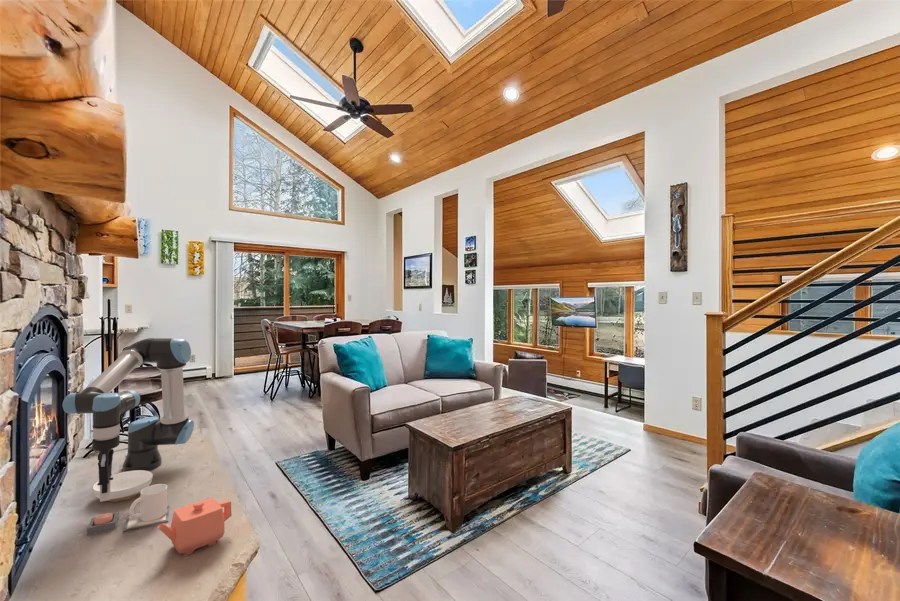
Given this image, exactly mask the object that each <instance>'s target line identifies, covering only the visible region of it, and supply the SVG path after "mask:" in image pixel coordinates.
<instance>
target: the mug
mask: <svg viewBox="0 0 900 601" xmlns="http://www.w3.org/2000/svg"><path fill="white" fill-rule="evenodd" d="M139 494H140V496H139V497H138V498H136V499H134V501H132V503H131V505H130V507H129V510H128V515H130V516H131V517H132V518H139V517H140V519H141V520H142V521H152V520H156V519H158V518H160V517H162V516H163V515H164V514H165V513H166V510H167V506H168V484H165V483H157V484H150V485H149V486H148V487H146V488H144V489H142V490H141V492H140V493H139ZM138 504H139V512H140V513H139V512H138V513H139V514H135V513H136V512H135V506H137V505H138Z"/></svg>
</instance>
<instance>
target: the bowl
mask: <svg viewBox="0 0 900 601" xmlns="http://www.w3.org/2000/svg"><path fill="white" fill-rule="evenodd" d="M112 477H113V480H109V481H111V484H110V500H107V502H113V503H114V502H115V503H116V502H122V501H126V500H129V499H132V498H134V497H136V496H138V495H139V494H140V492H141V490H142V489H144V488H146V487H148V486H151V483H152V481H153V477H154V473H153V472H152V471H150V470H148V471H145V470H135V471H127V472H123V471H121V472H117V473H113V474H112V475H111V478H112ZM98 483H99V480H97V482H95V483H94V484H93V486H92V492H93V494H94V496H95V498H96V499H99V500H100V485H97V484H98Z"/></svg>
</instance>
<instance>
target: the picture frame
mask: <svg viewBox="0 0 900 601" xmlns="http://www.w3.org/2000/svg"><path fill="white" fill-rule="evenodd" d="M134 513H135V514H139V513H140V511H139V512H134ZM169 514H170V505H167V510H166V513H165V514H164V515H163V516H162V517H160V518H158V519H156V520H152V521H142V520H141V519H140V517H139V518H132V517H131V516H130V514H127V517H126V520H125V523H124V529H123V531H122V532H123V534H124V533H129V532H133V531H136V530H140V529H145V528H149V527H154V526H159V525H161V524H163V523H164V524H167V523H169Z"/></svg>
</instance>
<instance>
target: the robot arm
mask: <svg viewBox="0 0 900 601" xmlns="http://www.w3.org/2000/svg"><path fill="white" fill-rule="evenodd" d="M191 355H192V348H191V346H190V343H189V341H187V340H186V339H183V338H176V337H174V338H173V337H172V338H171V337H170V338H169V337H168V338H164V337H163V338H161V337H158V338H155V337H152V338H151V337H148V338H145V339H141V340H139V341H136V342H134V343H132V344H130V345H129V346H126V348H124V349H123V350H121V352H119V354H118V356H117V359H116V360H115V361H113V362H112V363H111V364H110V365H109V366H108V367H107V368H106V369H104V371H102V372H101V373H100V374H99V375H98V376H97V377H96V378H95V379H94V380H93V381H92V382H91V383H90V384H88V386H87V387H85V388H84V389H83V390H82V391H81V392H79V393H78V392H75V393H70V394H68V395H66V396H65V397H64V399H63V402H62V409H63V411H64V412H65V413H66V414H75V415H76V414H77V415H78V414H80V415H81V414H92V429H90V430H89V431H90V433H92V440H91V449H92V450H93V451H96V452H97V451H98V452H99V453H98V455H97V460H98V462H97V465H98V481H99V483H98V484H97V485H100V499H99V503H100V502H106V501H107V500H110V484H111V481H109V480H113V477H112V478H111V475H113V474H112V470H113V458H114V457H113V456H114V448H117V447H118V446H119V445H120V433H121V415H123V414H125V413H127V412H129V411H131V410H133V409H134V408H135V407H137V406H138V405H139V404H140V402H141V396H140V394H139V393H138V391H136V390H133V389H128V390H123V391H122V392H112V391H113V390H114V389H115V388H117V387H118V385H120V383H122V382H123V380H124V379H126V377H127V376H128V375H129V374H131V372H132V371H133V370H134V369H137V368H139V367H141V366H142V365H144V364H147V363H148V364H151V363H154V364H155V363H156V369H158V370H159V371H160V378H161V393H162V395H161V396H162V414H163V416H162V417H161V418H159V417H158V416H148V417H143V418H140V419H137V420H136V419H135V420H134V421H132V422H131V423H129V425H128V428H127V429H128V430H127V454H126V456H125V459H124V461H123V464H122V471H121V472H127V471H135V470H145V471H151V470H153V469H156V468H157V467H159V466H161V464H162V460H163V458H162V455H161V453H160V451H159V449H158V448H159V446H167V445H168V446H169V445H170V446H171V445H173V446H174V445H175V446H176V445H184V444H186V443H188V441H189V440H190V438H191V436H192V434H193V431H194V428H195V427H194V426H195V421H194V420H193V419H191V418H190V419H189V414H188V413H186V412H185V393H184V392H185V391H184V390H185V389H184V372H183V371H184V370H183V368H185V366H186V365H187V363H188V362H190V360H191V357H192V356H191ZM107 502H108V501H107Z"/></svg>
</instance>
